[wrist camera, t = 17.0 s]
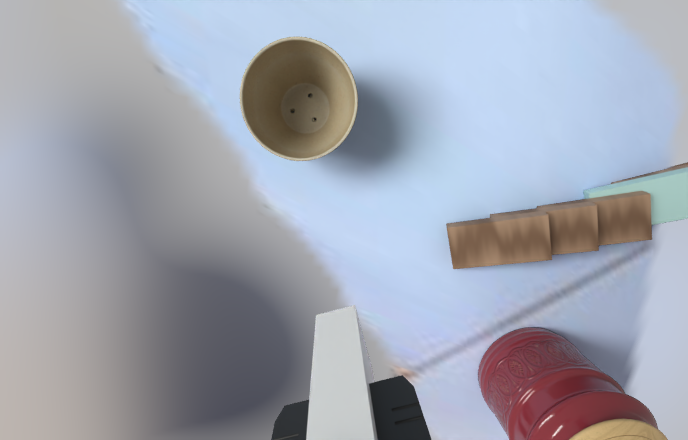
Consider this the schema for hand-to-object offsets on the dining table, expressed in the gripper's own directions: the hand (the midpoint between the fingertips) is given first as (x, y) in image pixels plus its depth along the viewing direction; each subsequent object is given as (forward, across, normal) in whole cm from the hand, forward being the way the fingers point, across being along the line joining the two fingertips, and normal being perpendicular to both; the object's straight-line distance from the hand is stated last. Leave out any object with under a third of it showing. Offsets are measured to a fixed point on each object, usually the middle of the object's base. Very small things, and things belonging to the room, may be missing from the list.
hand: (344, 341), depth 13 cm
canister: (+26, +18, -27) cm, 42 cm away
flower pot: (+26, 0, +11) cm, 28 cm away
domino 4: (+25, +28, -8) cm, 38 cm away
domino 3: (+25, +22, -8) cm, 35 cm away
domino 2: (+25, +17, -8) cm, 31 cm away
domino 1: (+25, +12, -8) cm, 29 cm away
